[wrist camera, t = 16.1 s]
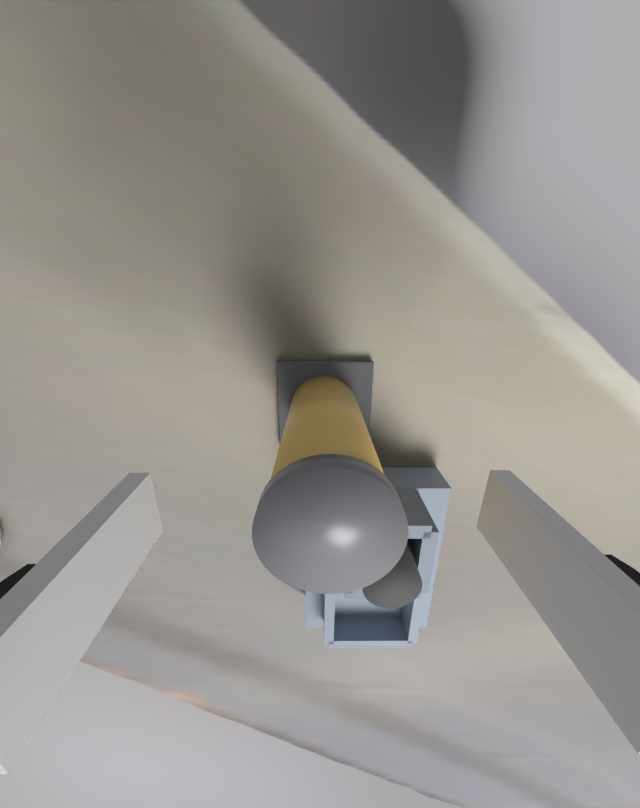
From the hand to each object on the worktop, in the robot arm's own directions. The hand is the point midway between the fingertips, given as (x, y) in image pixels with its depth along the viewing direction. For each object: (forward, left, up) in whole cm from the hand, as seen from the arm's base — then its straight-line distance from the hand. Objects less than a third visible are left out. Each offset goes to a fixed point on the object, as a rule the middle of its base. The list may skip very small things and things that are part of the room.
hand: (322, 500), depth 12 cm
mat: (0, 0, -12) cm, 12 cm away
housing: (+13, +4, -12) cm, 18 cm away
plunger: (+9, +4, -8) cm, 13 cm away
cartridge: (0, 0, -11) cm, 11 cm away
